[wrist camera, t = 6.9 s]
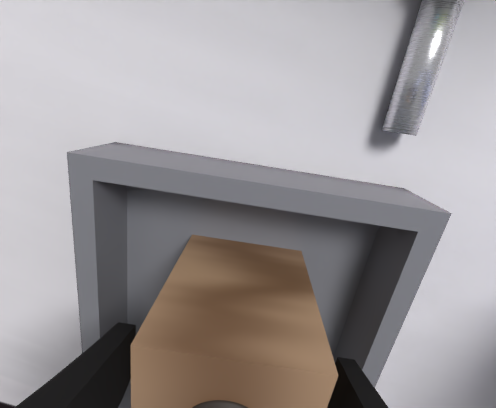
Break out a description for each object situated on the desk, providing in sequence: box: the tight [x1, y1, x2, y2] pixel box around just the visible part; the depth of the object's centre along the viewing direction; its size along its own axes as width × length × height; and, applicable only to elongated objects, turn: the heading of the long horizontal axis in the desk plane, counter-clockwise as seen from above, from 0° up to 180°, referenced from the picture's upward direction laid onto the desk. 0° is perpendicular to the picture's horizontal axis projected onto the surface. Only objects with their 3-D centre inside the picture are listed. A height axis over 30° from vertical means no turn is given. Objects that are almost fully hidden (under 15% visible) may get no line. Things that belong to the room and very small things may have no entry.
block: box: [131, 235, 338, 408], centre depth 10 cm, size 5×5×6 cm
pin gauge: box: [382, 0, 464, 136], centre depth 8 cm, size 8×2×2 cm, turn 171°
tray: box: [67, 142, 451, 408], centre depth 12 cm, size 13×13×3 cm
